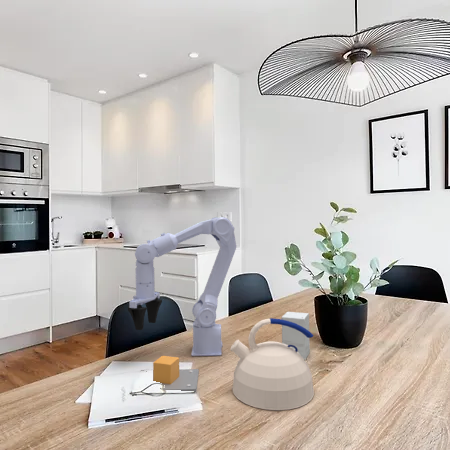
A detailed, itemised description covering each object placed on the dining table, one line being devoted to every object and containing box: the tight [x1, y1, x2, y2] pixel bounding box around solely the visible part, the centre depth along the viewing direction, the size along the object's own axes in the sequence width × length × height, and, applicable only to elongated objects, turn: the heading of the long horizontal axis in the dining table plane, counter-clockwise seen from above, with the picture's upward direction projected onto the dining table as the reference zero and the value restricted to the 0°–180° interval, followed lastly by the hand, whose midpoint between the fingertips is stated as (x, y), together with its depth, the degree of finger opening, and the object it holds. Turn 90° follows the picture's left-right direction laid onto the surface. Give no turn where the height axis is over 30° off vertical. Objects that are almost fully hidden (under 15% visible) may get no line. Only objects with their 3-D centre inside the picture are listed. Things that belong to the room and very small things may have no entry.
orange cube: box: [152, 355, 180, 384], centre depth 95 cm, size 5×5×5 cm
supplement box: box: [280, 311, 311, 361], centre depth 114 cm, size 7×7×13 cm
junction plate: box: [140, 368, 200, 393], centre depth 95 cm, size 16×12×4 cm
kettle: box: [230, 317, 315, 411], centre depth 91 cm, size 20×21×18 cm
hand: (145, 325), depth 113 cm, fingers open, 7 cm apart
